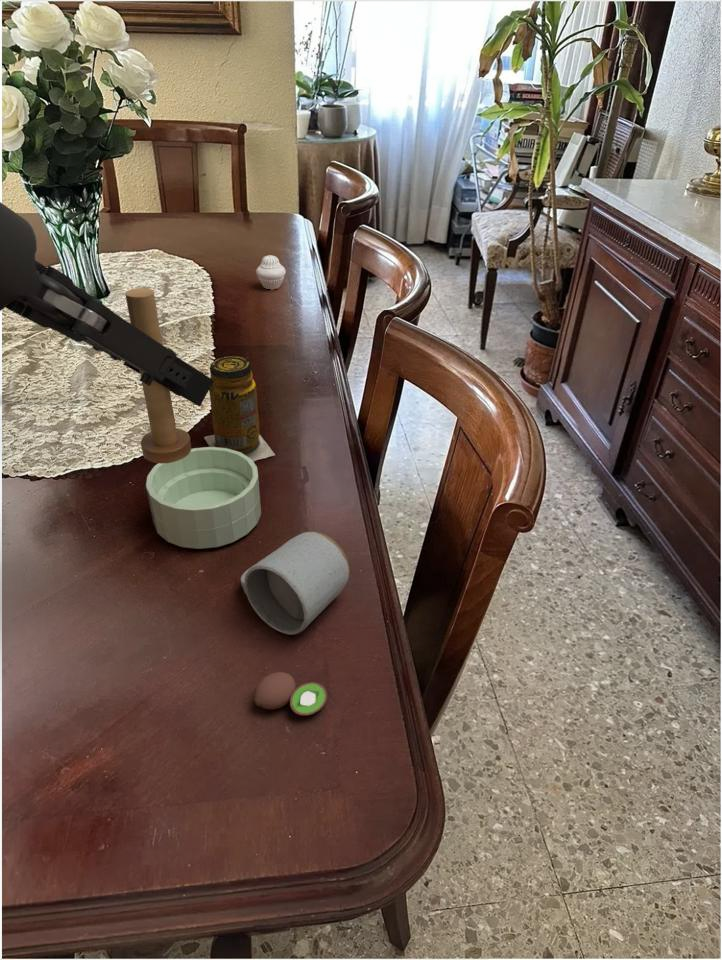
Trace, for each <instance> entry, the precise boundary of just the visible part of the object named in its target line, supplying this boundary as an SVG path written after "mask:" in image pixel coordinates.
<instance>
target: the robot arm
mask: <svg viewBox="0 0 722 960" xmlns="http://www.w3.org/2000/svg"><path fill="white" fill-rule="evenodd" d="M37 246H38V245H37V237H36V233H35V230H34V228H33V227H32V225H31V224H30V222H29V221H28V220H27V219H25V218H24V217H22V216H21V215H19V214H18V213H17V212H15V211H14V210H12V209H11V208H10V207H8V206H7V205H6V204H4V203H3V202H1V201H0V312H1V311H3V310H4V309H8V310H9V311H11V312H13V313H14V314H16V315H19V316H21V317H22V318H24V319H27V320H29V321H30V322H33V323H34V324H36V325H38V326H40V327H42V328H47V329H48V328H49V329H51V330H53V331H55V332H57V333H59V334H61V335H64V337H67V338H69V339H70V340H72V341H74V342H77V343H82V342H84V343H85V344H87V345H89V346H91V347H92V349H93V350H94V351H97V352H103V353H104V354H107V355H108V356H109V357H110V358H111V359H112V360H114V361H120V362H123V363H122V365H123V366H125V367H127V368H129V369H130V370H132V371H134V372H135V373H137V374H139V375H140V371H142V372H143V375H142V377H141V376H140V379H139V380H138V381H140V382H141V383H142V382H143V383H145V384H147V385H149V386H150V385H151V383H152V381H153V380H154V381H155V382H157V383H159V384H161V385H162V386H164V387H166V388H168V389H169V390H170V393H173V394H174V395H176V396H179V397H181V398H184V399H185V400H187V401H188V402H191V403H192V404H194V405H196V406H198V407H201V405H202V404H203V402H204V400H205V398H206V397H207V395H208V393H209V389H210V387H211V386H212V384H213V382H214V380H213V379H211V378H210V377H209V376H208V375H206V374H205V373H204V372H202V371H200V370H199V369H197V368H196V367H194V366H193V365H191V364H189V363H188V362H186V361H185V360H183V359H181V358H179V357H178V356H177V355H178V354H177V353H176V352H175V351H174V350H173V349H172V348H170V347H166V346H165V345H164V344H163V343H162V344H160V343H159V342H157V341H156V340H154V339H153V338H151V337H150V336H148V335H147V334H145V333H144V332H142V331H141V330H139V329H138V328H136V327H135V326H133V325H132V324H131V322H130V321H127V320H126V319H124V318H123V317H122V316H119V315H118V314H117V313H115V312H114V311H113V310H111V308H109V307H108V306H107V305H105V304H104V302H103V301H102V300H101V299H99V298H97V297H95V296H92V295H91V294H90V293H88V292H86V291H85V290H83V289H82V288H80V287H79V286H77V285H76V284H75V283H74V280H73V279H72V278H71V277H70V276H68V275H66V274H65V273H63V272H61V271H60V270H58V269H57V268H55V267H53V266H52V265H48V266H45V265H44V264H42V263H41V262H39V261H38V260H37V259H36V253H37V249H38V247H37Z"/></svg>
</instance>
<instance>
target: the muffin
mask: <svg viewBox="0 0 722 960" xmlns="http://www.w3.org/2000/svg"><path fill="white" fill-rule="evenodd" d="M286 271H287V270H286V268H285V267H284V266H283V264H281V262H280V260H279V258H278V257H277V256H275V255H271V254H269V255H265V256H263V257H262V259H261V263H260V265H258V266H257V268H256V270H255V273H256V275H257V278H258V280H259V282H260V283H261V285H262V287H263V288H266V289H275V288H279V287H280V288H281V285H282V284H283V282H284V279H285V275H286V273H287V272H286ZM280 288H279V289H280ZM266 289H265V290H266Z"/></svg>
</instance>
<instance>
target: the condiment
mask: <svg viewBox="0 0 722 960" xmlns="http://www.w3.org/2000/svg"><path fill="white" fill-rule="evenodd" d="M252 369H253V367H252V363H251V362H250V361H249V360H248V359H246V358H245V357H241V356H233V355H232V356H231V355H230V356H229V355H228V356H223V357H219V358H216V359H215V360H213V362H211V363H210V366H209V373H210V377H209V378H211V379H213V380H214V382H213V384H212V386H211V387H210V389H209V391H208V393H209V400H210V408H211V409H210V410H211V417H212V427H213V434H211V435H206V436H204V437H203V438H204V440H205V441H206V443H207V445H208V447H218V448H228V449H231V450H234V451H238V452H241V453H243V454H244V455H246V456H247V457H249V458H251V459H252V461H253V462H254V463H255V462H256V461H258V460H264V459H267V458H270V457H274V456H276V454H275V452H274V451H273V450H272V448H271V446H269V444H268V443H267V442H266V441H265V440H264V438H263V437H262V435H261V434H260V418H259V417H260V416H259V408H258V393H257V383H256V382H255V380H254V379H253V372H252Z"/></svg>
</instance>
